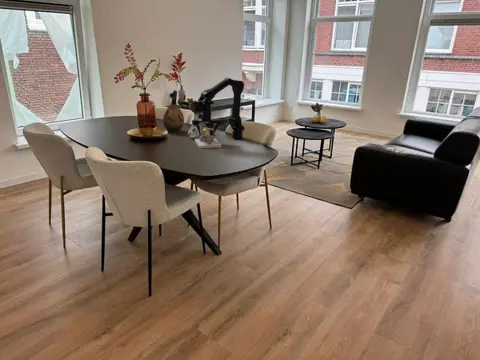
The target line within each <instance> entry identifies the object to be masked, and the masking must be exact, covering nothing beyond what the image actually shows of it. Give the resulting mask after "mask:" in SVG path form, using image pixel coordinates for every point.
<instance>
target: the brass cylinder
mask: <svg viewBox="0 0 480 360" xmlns="http://www.w3.org/2000/svg"><path fill="white" fill-rule="evenodd" d="M210 129H211V128H210V127H207V128H205V127H203V134H202V136H203V138H207V136H211V135H210Z"/></svg>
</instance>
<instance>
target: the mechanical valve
mask: <svg viewBox="0 0 480 360" xmlns="http://www.w3.org/2000/svg"><path fill="white" fill-rule="evenodd" d="M198 120H199V121H202V120H201V119H198ZM199 125H200V135H199V132H198V129H197V127H195V126H194V125H193V124H191V127H189V129H188V132H187V134H188V136H189V137H190V138H191V139H193V140H195V139H200V136H203V129H204V128H208V127H207V124H199ZM210 136H213V129H211V128H210Z"/></svg>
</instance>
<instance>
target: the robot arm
mask: <svg viewBox="0 0 480 360" xmlns="http://www.w3.org/2000/svg"><path fill="white" fill-rule="evenodd" d="M229 86H230V87H231V91H232V93H233V98H232V99H233V103H232V116H231V117H230V116H229V118H228V119H229V121H228V124H229V126H230V129H232V131H231V138H232V139H233V138H234V139H233V140H244V138H243V132H244V131H245V126H244V125H243V124H242V117H241V114H240V113H241V101H242V100H241V99H242V93H243V92H244V88H245V82H244V81H243V80H238V79H233V78H229V77H225V78H224V79H223V80H222V81H220V82H218V83H217V84H215V85H214V86H213V87H211V88H207V89H205V90H203V91H202V92H201V93H200V96H199V97H198V99H197V100H196V101H192V102H191V105H190V111H191V112H192V113H198V114H197V117H198V119H192V120H191V125H194V126H195V127H197V129H198V132H199V135H200V125H199V124H205V125H207V124H213V129H212V130H213V134H212V136H214V135H215V133H216V131H217V129H218V127H219V126H220V125H221V126H222V123H223V122H222V120H221V119H220V118H214V119H213V120H212V105H215V102H214V101H213V99H214V98H215V97H216V96H217V94H218V93H220V92H221V91H223V90H225V89H226V88H227V87H229ZM199 120H202V121H199Z"/></svg>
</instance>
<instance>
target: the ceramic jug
mask: <svg viewBox="0 0 480 360" xmlns="http://www.w3.org/2000/svg"><path fill="white" fill-rule="evenodd" d="M168 97H169V98H170V100H171V103H170V104H169V106H168V108H166V110H165V112H164V115H163V119H162V123H163V127H164V128H165V129H166V132H167V131H168V132H167V133H169V134H170V133H171V134H179V132H180V131H181V129H182V128H183V127H184V124H185V117H184V114H183V112H182V110H181V108H180V107H179V105H178V103H177V100H178V99H177V98H178V91H177V89H176V90H175V89H174V90H173V91H172V92H170V93H169V95H168Z"/></svg>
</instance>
